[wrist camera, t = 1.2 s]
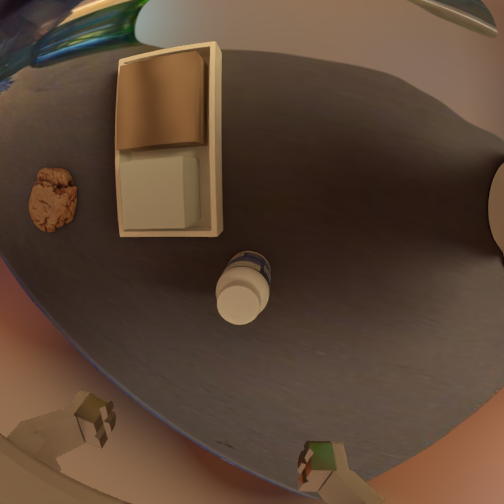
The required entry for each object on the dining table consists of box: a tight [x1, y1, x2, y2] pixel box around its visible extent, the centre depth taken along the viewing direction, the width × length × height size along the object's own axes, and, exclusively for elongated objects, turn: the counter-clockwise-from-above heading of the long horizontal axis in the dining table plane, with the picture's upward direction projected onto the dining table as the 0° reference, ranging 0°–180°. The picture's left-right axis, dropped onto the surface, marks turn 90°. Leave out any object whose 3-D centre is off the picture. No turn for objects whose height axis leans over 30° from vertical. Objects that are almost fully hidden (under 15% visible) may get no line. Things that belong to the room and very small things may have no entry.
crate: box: [115, 41, 223, 237], centre depth 31 cm, size 12×22×4 cm, turn 1°
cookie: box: [29, 167, 78, 233], centre depth 35 cm, size 10×11×3 cm
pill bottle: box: [216, 251, 271, 325], centre depth 31 cm, size 5×5×10 cm
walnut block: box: [117, 51, 208, 152], centre depth 28 cm, size 9×10×5 cm
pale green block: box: [120, 156, 201, 229], centre depth 31 cm, size 7×7×6 cm
